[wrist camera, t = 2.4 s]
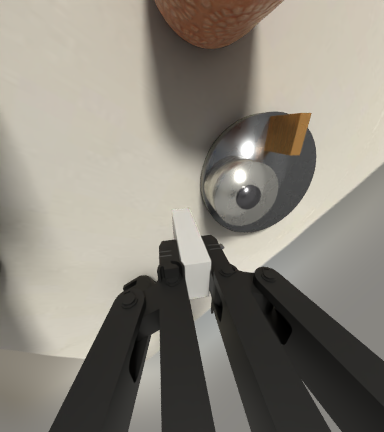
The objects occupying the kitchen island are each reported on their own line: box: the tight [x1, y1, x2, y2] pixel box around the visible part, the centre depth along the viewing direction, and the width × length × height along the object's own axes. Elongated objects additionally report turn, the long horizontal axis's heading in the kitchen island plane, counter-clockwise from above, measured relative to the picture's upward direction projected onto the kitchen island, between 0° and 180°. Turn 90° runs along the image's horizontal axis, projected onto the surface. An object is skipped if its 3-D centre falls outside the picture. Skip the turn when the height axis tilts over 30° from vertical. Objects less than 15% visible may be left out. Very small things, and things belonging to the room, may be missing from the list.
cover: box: [204, 155, 278, 226], centre depth 21 cm, size 8×8×5 cm
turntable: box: [201, 112, 316, 232], centre depth 23 cm, size 18×18×7 cm
